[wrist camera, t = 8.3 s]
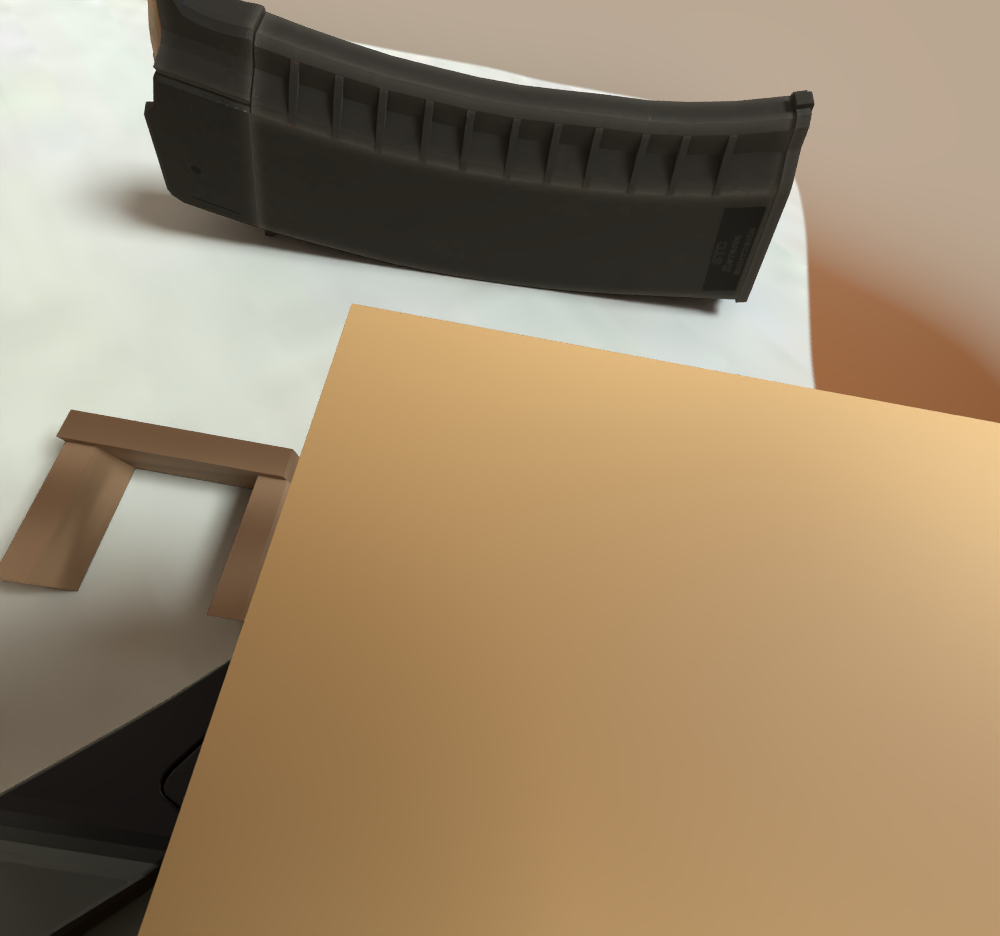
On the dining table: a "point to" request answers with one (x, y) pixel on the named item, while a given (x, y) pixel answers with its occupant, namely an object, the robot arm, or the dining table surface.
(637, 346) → the dining table surface
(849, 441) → the oak block
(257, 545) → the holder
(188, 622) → the dining table surface
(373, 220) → the magazine
